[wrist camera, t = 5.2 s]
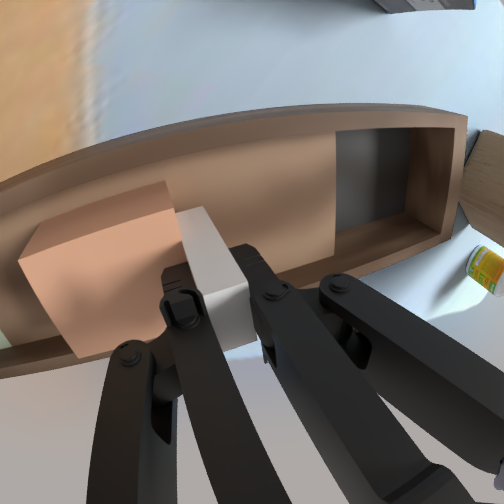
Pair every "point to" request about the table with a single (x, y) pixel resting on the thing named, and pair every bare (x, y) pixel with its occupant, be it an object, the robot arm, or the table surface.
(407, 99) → the table surface
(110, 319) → the clay block
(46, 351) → the channel
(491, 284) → the supplement bottle
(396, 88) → the table surface
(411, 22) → the table surface
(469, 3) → the blue retail box
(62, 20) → the table surface
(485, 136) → the block
